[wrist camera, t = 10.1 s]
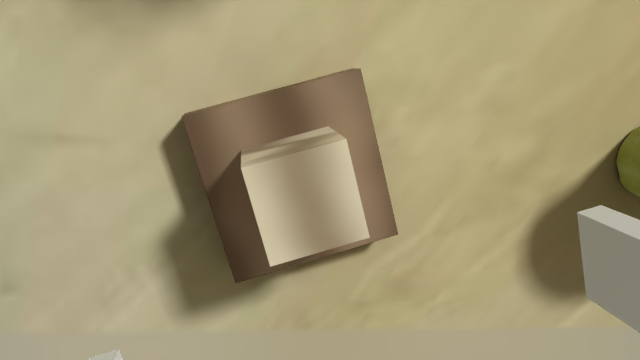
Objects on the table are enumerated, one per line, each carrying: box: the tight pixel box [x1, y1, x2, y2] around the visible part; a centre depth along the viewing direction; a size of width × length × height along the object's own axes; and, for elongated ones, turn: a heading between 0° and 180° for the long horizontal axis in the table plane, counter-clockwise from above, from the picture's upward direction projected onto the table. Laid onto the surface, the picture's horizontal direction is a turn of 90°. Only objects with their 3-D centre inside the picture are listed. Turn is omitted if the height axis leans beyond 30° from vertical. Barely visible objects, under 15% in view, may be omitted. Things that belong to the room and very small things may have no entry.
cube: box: [241, 126, 370, 267], centre depth 31 cm, size 6×6×6 cm
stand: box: [182, 69, 398, 283], centre depth 35 cm, size 12×12×2 cm
